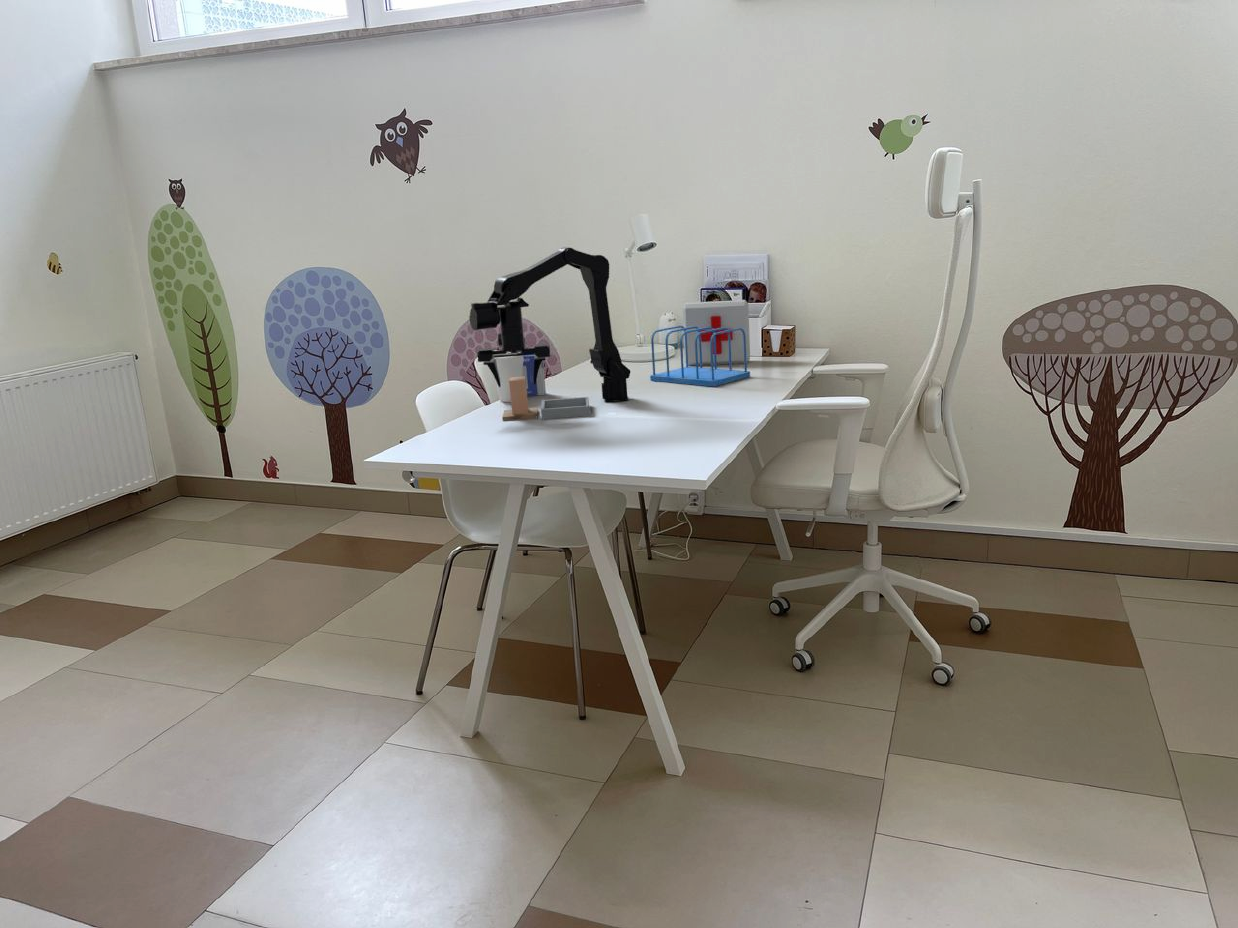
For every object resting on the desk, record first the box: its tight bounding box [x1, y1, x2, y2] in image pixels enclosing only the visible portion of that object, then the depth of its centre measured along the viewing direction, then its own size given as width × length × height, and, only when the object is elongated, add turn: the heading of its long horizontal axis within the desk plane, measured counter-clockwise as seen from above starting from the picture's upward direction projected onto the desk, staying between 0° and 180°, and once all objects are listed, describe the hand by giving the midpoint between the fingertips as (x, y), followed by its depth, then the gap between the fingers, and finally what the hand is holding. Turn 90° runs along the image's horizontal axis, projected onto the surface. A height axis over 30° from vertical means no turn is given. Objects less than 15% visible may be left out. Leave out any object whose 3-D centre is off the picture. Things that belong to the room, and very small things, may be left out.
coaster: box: [502, 407, 539, 422], centre depth 249 cm, size 9×9×1 cm
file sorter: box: [649, 325, 751, 387], centre depth 282 cm, size 25×17×15 cm
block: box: [509, 377, 529, 415], centre depth 248 cm, size 4×5×9 cm
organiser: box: [540, 396, 591, 420], centre depth 249 cm, size 13×13×2 cm
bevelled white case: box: [681, 299, 751, 367], centre depth 306 cm, size 21×8×20 cm, turn 80°
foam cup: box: [494, 351, 524, 403], centre depth 271 cm, size 10×9×13 cm
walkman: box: [523, 355, 547, 397], centre depth 276 cm, size 8×3×12 cm, turn 85°
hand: (517, 385), depth 247 cm, fingers open, 9 cm apart
